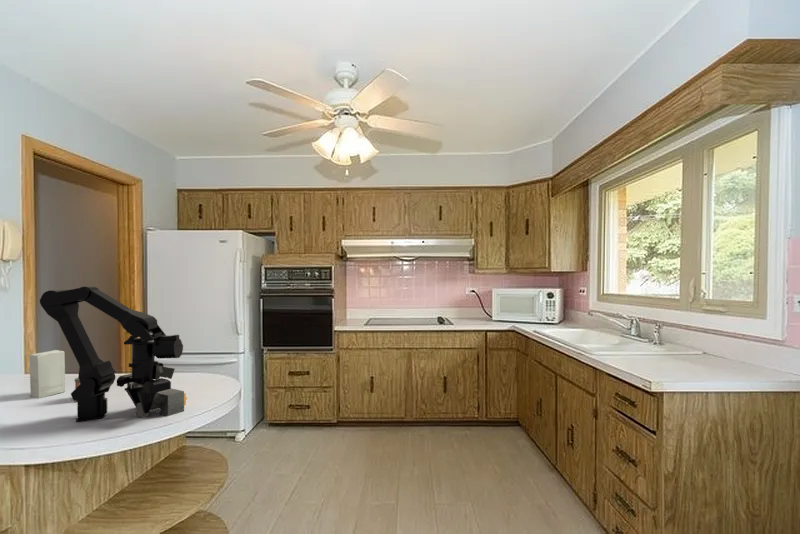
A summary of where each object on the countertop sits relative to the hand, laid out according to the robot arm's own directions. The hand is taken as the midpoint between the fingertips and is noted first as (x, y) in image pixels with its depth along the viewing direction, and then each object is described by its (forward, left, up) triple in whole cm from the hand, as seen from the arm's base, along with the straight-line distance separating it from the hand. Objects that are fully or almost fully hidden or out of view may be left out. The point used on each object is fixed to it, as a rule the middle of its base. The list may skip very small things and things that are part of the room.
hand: (143, 412), depth 124 cm
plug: (+5, +3, -1) cm, 6 cm away
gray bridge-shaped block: (+5, +3, -1) cm, 6 cm away
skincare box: (-30, +45, -1) cm, 54 cm away
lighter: (-17, +31, -1) cm, 35 cm away
